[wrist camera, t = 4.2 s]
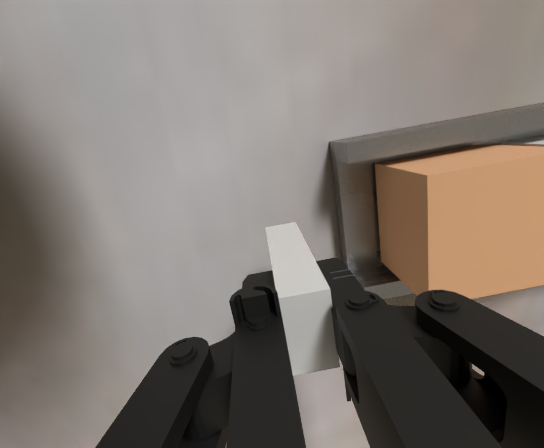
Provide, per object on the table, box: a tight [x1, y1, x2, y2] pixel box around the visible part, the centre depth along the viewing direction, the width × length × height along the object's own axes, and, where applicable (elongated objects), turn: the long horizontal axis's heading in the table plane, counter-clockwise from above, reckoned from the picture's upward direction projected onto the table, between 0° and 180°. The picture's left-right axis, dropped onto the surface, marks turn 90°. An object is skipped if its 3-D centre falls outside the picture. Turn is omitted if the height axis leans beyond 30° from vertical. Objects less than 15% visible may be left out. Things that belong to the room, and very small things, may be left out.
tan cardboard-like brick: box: [375, 144, 544, 299], centre depth 15 cm, size 6×6×5 cm
